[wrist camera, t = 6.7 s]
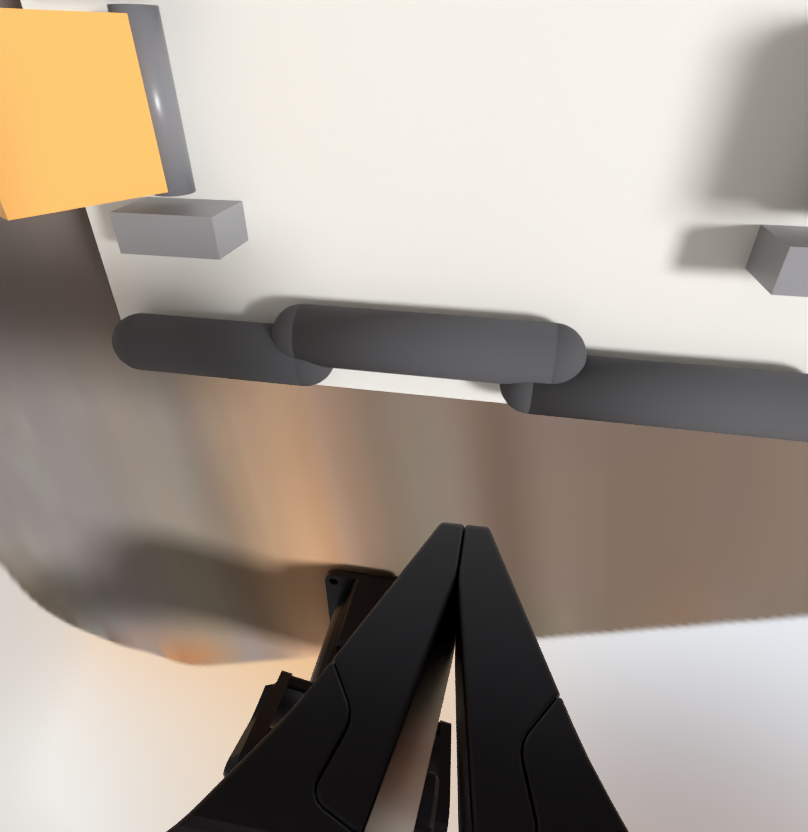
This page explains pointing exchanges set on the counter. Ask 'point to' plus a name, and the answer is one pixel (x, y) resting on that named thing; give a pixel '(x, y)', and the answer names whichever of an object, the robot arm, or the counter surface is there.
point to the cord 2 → (473, 365)
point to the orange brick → (87, 110)
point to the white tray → (486, 172)
